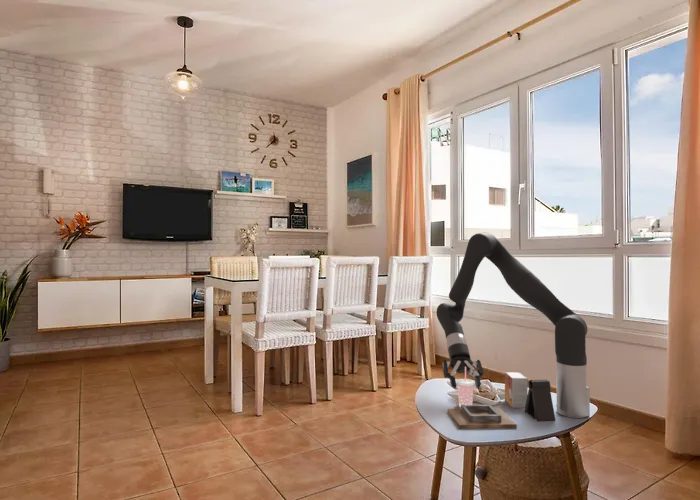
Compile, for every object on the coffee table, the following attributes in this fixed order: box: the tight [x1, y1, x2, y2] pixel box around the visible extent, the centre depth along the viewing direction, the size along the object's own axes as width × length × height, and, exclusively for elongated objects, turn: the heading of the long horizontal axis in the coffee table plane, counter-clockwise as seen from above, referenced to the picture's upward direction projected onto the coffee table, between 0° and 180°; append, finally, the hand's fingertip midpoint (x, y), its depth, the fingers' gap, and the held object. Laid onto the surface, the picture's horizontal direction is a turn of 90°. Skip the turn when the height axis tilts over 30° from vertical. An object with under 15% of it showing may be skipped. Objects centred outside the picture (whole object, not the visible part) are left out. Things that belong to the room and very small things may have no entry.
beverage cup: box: [456, 367, 475, 408], centre depth 156 cm, size 6×6×14 cm
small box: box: [504, 371, 529, 409], centre depth 158 cm, size 8×6×10 cm
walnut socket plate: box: [447, 404, 518, 430], centre depth 143 cm, size 18×14×3 cm
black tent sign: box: [524, 379, 556, 422], centre depth 146 cm, size 9×6×12 cm, turn 5°
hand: (466, 387), depth 154 cm, fingers open, 8 cm apart
